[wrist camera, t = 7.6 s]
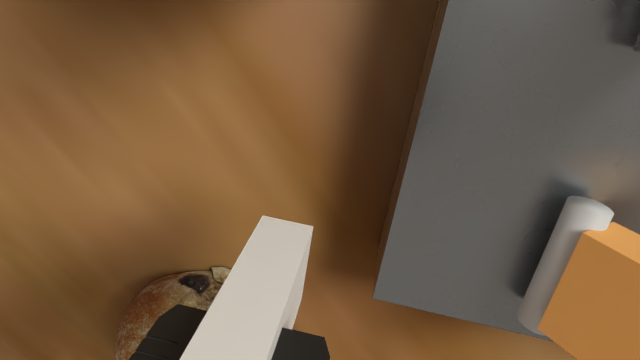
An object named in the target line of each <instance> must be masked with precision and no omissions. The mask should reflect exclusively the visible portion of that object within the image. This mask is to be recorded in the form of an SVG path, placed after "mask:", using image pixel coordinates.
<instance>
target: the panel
mask: <svg viewBox="0 0 640 360" xmlns="http://www.w3.org/2000/svg"><path fill="white" fill-rule="evenodd" d="M570 196H581V197H586V198H589V199H592V200H595V201H597V202H600V203H602V204H604V205H605V206H607V207H609V208H610V209H611V210H612V211H613V213H614V216H613V218H612V220H611V222H610V223H612V222H615V223H617V224H619V225H621V226H623V227H625V228H627V229H629V230H631V231H633V232H635V233H637V234H639V235H640V0H439V3H438V7H437V11H436V15H435V19H434V24H433V28H432V32H431V36H430V40H429V44H428V48H427V52H426V56H425V60H424V64H423V68H422V72H421V76H420V80H419V84H418V88H417V92H416V97H415V101H414V105H413V109H412V113H411V117H410V121H409V125H408V129H407V133H406V137H405V141H404V145H403V149H402V153H401V157H400V161H399V165H398V170H397V174H396V178H395V182H394V186H393V190H392V194H391V198H390V202H389V206H388V210H387V214H386V218H385V222H384V226H383V230H382V234H381V238H380V242H379V247H378V254H377V264H376V273H375V282H374V291H373V299H378V300H382V301H386V302H390V303H394V304H399V305H403V306H407V307H411V308H415V309H420V310H424V311H428V312H432V313H437V314H441V315H445V316H449V317H453V318H458V319H462V320H466V321H470V322H474V323H479V324H483V325H487V326H491V327H495V328H500V329H504V330H508V331H512V332H516V333H521V334H525V335H529V336H533V337H537V338H542V339H546V340H550V341H553V340H551V339H550V338H549V337H548V336H545V335H540V334H537V333H534V332H532V331H530V330H529V329H527V328H526V327H524V326H523V325H522V324H521V323H520V321H519V320H518V318H517V312H518V310H519V307H520V305H521V303H522V300H523V298H524V296H525V294H526V291H527V289H528V287H529V284H530V282H531V280H532V278H533V275H534V273H535V271H536V269H537V266H538V264H539V262H540V259H541V257H542V255H543V253H544V250H545V248H546V246H547V243H548V241H549V239H550V237H551V234H552V232H553V230H554V228H555V225H556V223H557V221H558V218H559V216H560V214H561V212H562V209H563V207H564V205H565V202H566V200H567V198H568V197H570Z"/></svg>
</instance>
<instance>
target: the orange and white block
mask: <svg viewBox="0 0 640 360" xmlns="http://www.w3.org/2000/svg"><path fill="white" fill-rule="evenodd" d="M613 216H614V213H613V211H612V210H611V209H610V208H609V207H607V206H605V205H604V204H602V203H600V202H597V201H595V200H592V199H589V198H586V197H581V196H570V197H568V198H567V200H566V202H565V205H564V207H563V209H562V212H561V214H560V216H559V218H558V221H557V223H556V225H555V228H554V230H553V232H552V234H551V237H550V239H549V241H548V243H547V246H546V248H545V250H544V253H543V255H542V257H541V259H540V262H539V264H538V266H537V269H536V271H535V273H534V275H533V278H532V280H531V282H530V284H529V287H528V289H527V291H526V294H525V296H524V298H523V300H522V303H521V305H520V307H519V310H518V312H517V318H518V320H519V321H520V323H521V324H522V325H523V326H524V327H526V328H527V329H529V330H530V331H532V332H534V333H537V334H540V335H545V336H548V337H549V338H550V339H551V340H553V341H554V342H555V343H557V344H558V345H559V346H561V347H562V348H563V349H564V350H566V351H567V352H568V353H570V354H571V355H572V356H573V357H575V358H576V359H577V360H640V235H639V234H637V233H635V232H633V231H631V230H629V229H627V228H625V227H623V226H621V225H619V224H617V223H615V222H612V223H610V222H611V220H612V218H613Z"/></svg>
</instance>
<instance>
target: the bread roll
mask: <svg viewBox="0 0 640 360" xmlns="http://www.w3.org/2000/svg"><path fill="white" fill-rule="evenodd" d="M211 268H212V271H192V272H184V273H181V274H178V275H176V274H173V275H168V276H166V277H161V278H159V279H157V280H154V281H152V282H150V283H149V284H148V285H147V286H146V287H144V288H143V289H142V290H141V291H140V292H139V293H138V294H137V295H136V296H135V297H134V299H133V300H132V301H131V303H130V304H129V306H128V307H127V309H126V311H125V313H124V315H123V317H122V319H121V323H120V327H119V329H118V331H117V340H116V347H115V348H116V360H129V358H130V357H131V356H132V354H133V353H135V351H136V348H137V347H138V346H139V344H140V343H141V341H142V340H143V339H144V338H145V337H146V334H147V333H148V332H149V330H150V329H151V327H152V326H153V324H154V323H155V322H156V320H157V319H158V317H159V316H161V315H162V314H164V313H165V312H167V311H168V310H170V309H171V308H173V307H174V306H175V305H177V304H181V305H185V306H189V307H193V308H198V309H202V310H206V311H208V309H209V308H210V306H211V304H212V303H213V301H214V299H215V297H216V296H217V294H218V292H219V290H220V289H221V287H222V285H223V284H224V282H225V280H226V278H227V277H228V275H229V273H230V271H231V270H232V269H229V268H226V267H211ZM292 330H293V329H292Z"/></svg>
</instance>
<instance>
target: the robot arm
mask: <svg viewBox="0 0 640 360" xmlns="http://www.w3.org/2000/svg"><path fill="white" fill-rule="evenodd" d="M312 232H313V226H309V225H305V224H300V223H295V222H291V221H286V220H281V219H277V218H272V217H268V216H262V218H261V219H260V221H259V223H258V225H257V226H256V228H255V230H254V232H253V233H252V235H251V237H250V238H249V240H248V242H247V244H246V245H245V247H244V249H243V251H242V252H241V254H240V256H239V258H238V259H237V261H236V263H235V264H234V266H233V268H232V270H231V271H230V273H229V275H228V277H227V278H226V280H225V282H224V284H223V285H222V287H221V289H220V290H219V292H218V294H217V296H216V297H215V299H214V301H213V303H212V304H211V306H210V308H209V309H208V311H206V310H202V309H198V308H193V307H189V306H185V305H181V304H177V305H175V306H174V307H173V308H171V309H170V310H168V311H167V312H165V313H164V314H162V315H161V316H159V317H158V319H157V320H156V322H155V323H154V324H153V326H152V327H151V329H150V330H149V332H148V333H147V334H146V337H145V338H144V339H143V340H142V341H141V343H140V344H139V346H138V347H137V348H136V351H135V353H133V354H132V356H131V357H130V358H129V360H329V359H330V355H329V352H328V348H327V345H326V341H325V338H324V337H321V336H317V335H312V334H308V333H304V332H300V331H296V330H292V328H293V325H294V322H295V319H296V315H297V312H298V309H299V306H300V303H301V299H302V293H303V287H304V281H305V274H306V268H307V262H308V256H309V250H310V244H311V238H312Z"/></svg>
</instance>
